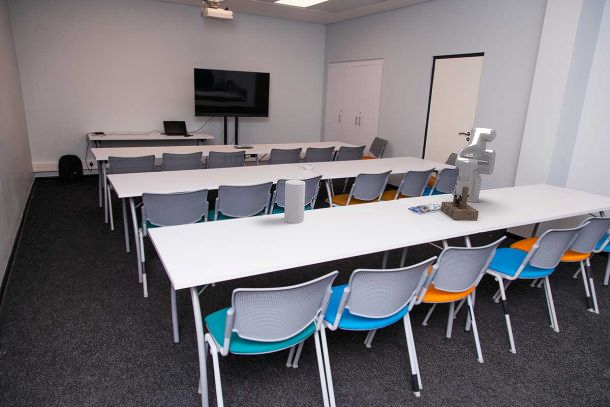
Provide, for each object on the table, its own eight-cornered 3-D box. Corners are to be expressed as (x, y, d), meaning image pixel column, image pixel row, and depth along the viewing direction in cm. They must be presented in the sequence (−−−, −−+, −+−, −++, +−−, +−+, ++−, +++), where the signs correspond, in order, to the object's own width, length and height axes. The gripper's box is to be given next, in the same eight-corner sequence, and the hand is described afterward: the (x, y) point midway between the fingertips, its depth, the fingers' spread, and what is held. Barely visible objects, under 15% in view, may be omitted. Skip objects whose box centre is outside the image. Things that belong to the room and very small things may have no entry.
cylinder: (300, 216, 262) (301, 179, 255) (306, 222, 251) (308, 184, 244) (281, 217, 258) (282, 180, 251) (287, 224, 247) (288, 184, 240)
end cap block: (440, 210, 288) (441, 201, 287) (461, 210, 290) (463, 201, 288) (454, 220, 267) (456, 210, 266) (477, 220, 269) (478, 211, 267)
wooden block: (455, 208, 284) (459, 184, 279) (466, 213, 274) (470, 187, 269) (451, 209, 282) (455, 184, 277) (462, 213, 273) (466, 188, 268)
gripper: (454, 179, 267) (450, 205, 272) (478, 179, 269) (474, 205, 274) (449, 176, 274) (446, 202, 279) (473, 177, 276) (468, 202, 281)
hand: (460, 203), depth 277 cm, fingers closed on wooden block, 4 cm apart
